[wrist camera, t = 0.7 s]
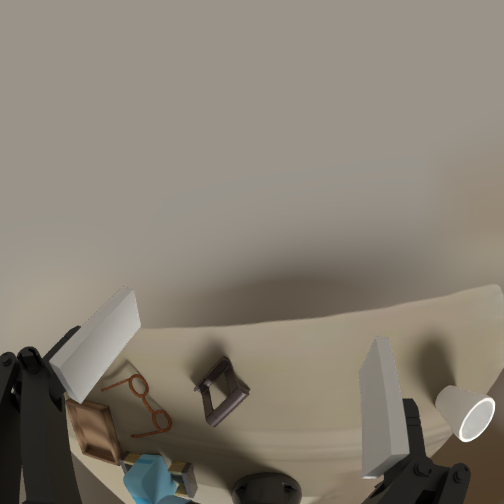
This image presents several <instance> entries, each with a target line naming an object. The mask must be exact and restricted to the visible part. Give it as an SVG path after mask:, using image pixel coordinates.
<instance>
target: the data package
mask: <svg viewBox="0 0 504 504" xmlns="http://www.w3.org/2000/svg"><path fill="white" fill-rule="evenodd" d="M123 481H124V484H125V486H126V488H127V489H128V491H129V493H130V494H131V496H132V497H133V499H134V500H135V502H136V503H137V504H157V502H158V501H159V500H161V499H162V498H163V497H165V496H167V495H174V494H175V492H176V490H177V487H176V484H175V482H174V480H173V478H172V476H171V474H170V473H168V468H167V466H166V464H165V462H164V459H163V457H162V456H160V455H149V454H142V455H141V456H140V458H139V459H138V460H137V461H136V462H135V464H134V465H133V466H132V467H131V468H130V470H129V471H128V472H127V473H126V474H125V476H124V478H123Z"/></svg>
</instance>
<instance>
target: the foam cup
mask: <svg viewBox="0 0 504 504" xmlns="http://www.w3.org/2000/svg"><path fill="white" fill-rule="evenodd" d="M435 407H436V409H437V410H438V412H439V413H440V414H441V415H442V417H443V418H444V419H445V421H446V422H447V423H448V425H449V426H450V427H451V429H452V430H453V431H454V434H455V435H456V436H457V437H458V438H460V439H461V440H462V441H463V442H468V441H471V440H473V439H474V438H476V437H478V436H479V435H480V434H481V433H482V432H483V431H484V430H485V429H486V427H487V425H488V424H489V422H490V421H491V419H492V416H493V414H494V410H495V402H494V401H493V399H492V398H491V397H489V396H487V395H485V394H479V393H475V392H472V391H469V390H466V389H463V388H460V387H457V386H453V385H449V386H447V387H445V388H444V389H443V390H442V391H440V393H439V394H438V396H437V398H436V401H435Z"/></svg>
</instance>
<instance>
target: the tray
mask: <svg viewBox="0 0 504 504" xmlns="http://www.w3.org/2000/svg"><path fill="white" fill-rule="evenodd" d="M65 402H66V406H67V409H68V413H69V416H70V419H71V422H72V425H73V428H74V431H75V434H76V437H77V440H78V442H79V445H80V448H81V450H82V453H83V454H84V455H87V456H90V457H93V458H95V459H98V460H101V461H104V462H108V463H111V464H114V465H117V466H120V465H121V464H120V461H119V459H120V458H121V457H122V456H123V454H122V451H121V448H120V445H119V441H118V438H117V435H116V432H115V428H114V425H113V421H112V418H111V414H110V410H109V406H106V405H101V404H97V403H93V402H89V401H85V400H83V402H82V403H81V404H80V403H79V402H77V401H75V400H74V399H72V398H70V399H68V400H66V401H65Z"/></svg>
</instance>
